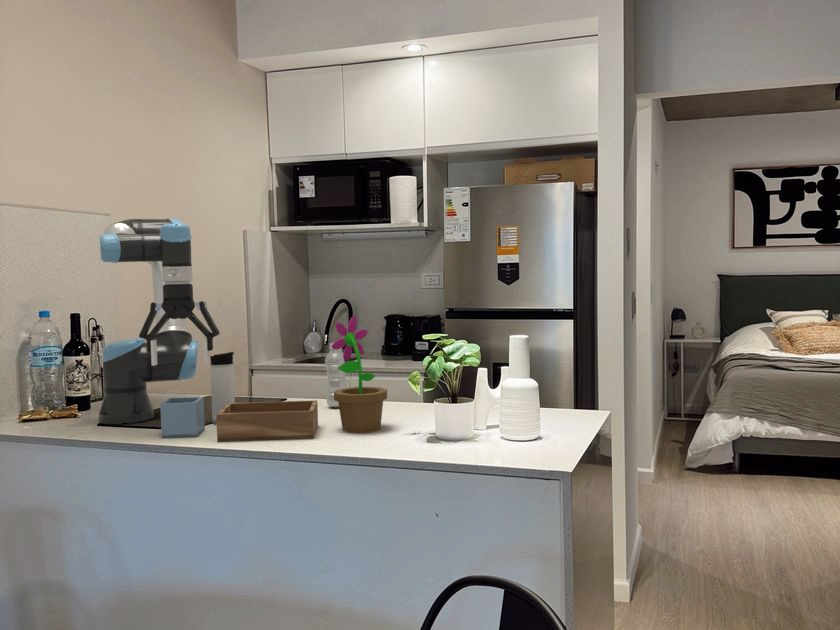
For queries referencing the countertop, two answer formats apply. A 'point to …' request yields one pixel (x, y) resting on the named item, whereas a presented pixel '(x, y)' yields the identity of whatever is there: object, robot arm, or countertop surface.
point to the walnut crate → (267, 421)
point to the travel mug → (221, 382)
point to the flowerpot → (357, 402)
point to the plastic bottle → (334, 374)
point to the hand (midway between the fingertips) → (180, 364)
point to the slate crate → (182, 417)
